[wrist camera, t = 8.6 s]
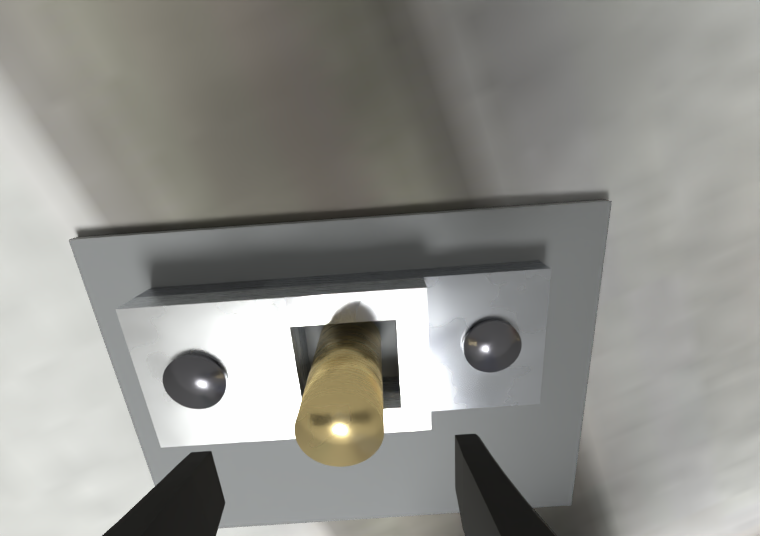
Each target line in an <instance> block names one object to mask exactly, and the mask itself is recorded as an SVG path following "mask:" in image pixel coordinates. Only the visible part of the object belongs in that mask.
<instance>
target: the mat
mask: <svg viewBox="0 0 760 536" xmlns="http://www.w3.org/2000/svg"><path fill="white" fill-rule="evenodd" d="M611 202H612V201H609V200H591V201H577V202H563V203H549V204H535V205H521V206H507V207H493V208H479V209H465V210H451V211H437V212H423V213H409V214H395V215H381V216H367V217H353V218H339V219H325V220H311V221H297V222H283V223H269V224H255V225H241V226H227V227H213V228H199V229H185V230H171V231H157V232H143V233H129V234H115V235H101V236H87V237H76V238H73V239H70V240H69V243H70V245H71V248H72V251H73V254H74V257H75V260H76V263H77V265H78V268H79V271H80V274H81V277H82V280H83V282H84V285H85V288H86V291H87V294H88V297H89V300H90V302H91V305H92V308H93V311H94V314H95V317H96V320H97V322H98V325H99V328H100V331H101V334H102V337H103V339H104V342H105V345H106V348H107V351H108V354H109V357H110V359H111V362H112V365H113V368H114V371H115V374H116V376H117V379H118V382H119V385H120V388H121V391H122V394H123V396H124V399H125V402H126V405H127V408H128V411H129V414H130V416H131V419H132V422H133V425H134V428H135V431H136V433H137V436H138V439H139V442H140V445H141V448H142V451H143V453H144V456H145V459H146V462H147V465H148V468H149V471H150V473H151V476H152V479H153V482H154V485H155V486H156V485H157V484H158V483H159V482H160V481H161V480H162V479H163V478H164V477H165V476H166V475H167V474H168V473H169V472H171V471H172V470H173V469H174V468H175V467H176V466H177V465H178V464H179V463H180V462H181V461H182V460H183V459H184V458H185V457H186V456H187V455H189V454H190V453H191V452H203V451H212V455H213V459H214V462H215V466H216V470H217V473H218V477H219V481H220V484H221V488H222V492H223V496H224V499H225V506H224V510H223V513H222V517H221V520H220V524H219V527H218V528H230V527H245V526H261V525H276V524H291V523H307V522H322V521H338V520H353V519H368V518H384V517H399V516H414V515H430V514H445V513H460V511H459V506H458V500H457V495H456V490H455V435H461V434H477V435H478V436H479V437H480V439H481V440H482V442H483V443H484V445H485V446H486V448H487V449H488V451H489V452H490V453H491V455H492V456H493V458H494V459H495V461H496V462H497V463H498V465H499V466H500V467H501V469H502V470H503V471H504V473H505V474H506V475H507V477H508V478H509V479H510V481H511V482H512V483H513V484H514V486H515V487H516V488H517V489H518V491H519V492H520V493H521V494H522V496H523V497H524V498H525V499H526V501H527V502H528V503H529V504H530V505H531V507H532V508H538V507H553V506H568V505H571V504H572V497H573V489H574V482H575V474H576V467H577V459H578V452H579V444H580V436H581V429H582V421H583V414H584V406H585V399H586V391H587V384H588V376H589V369H590V361H591V353H592V346H593V338H594V331H595V323H596V316H597V308H598V301H599V293H600V285H601V278H602V270H603V263H604V255H605V248H606V240H607V233H608V225H609V218H610V210H611ZM536 260H539V261H541V262H542V263H544V264H545V265H547V266H548V267H550V268H551V279H550V290H549V302H548V314H547V326H546V337H545V349H544V361H543V373H542V384H541V396H540V404H531V405H516V406H501V407H486V408H471V409H456V410H441V411H431V430H417V431H402V432H387V433H384V438H383V441H382V444H381V446H380V447H379V449H378V450H377V451H376V453H375V454H374V455H372V456H371V457H370V458H368V459H367V460H365V461H363V462H361V463H359V464H356V465H352V466H345V467H336V466H329V465H325V464H322V463H319V462H317V461H315V460H313V459H311V458H310V457H309V456H307V455H306V454H305V453H304V452H303V451H302V450H301V448H300V447H299V445H298V443H297V441H296V439H282V440H267V441H253V442H238V443H223V444H208V445H193V446H178V447H163V448H161V446H160V443H159V440H158V437H157V434H156V431H155V428H154V425H153V422H152V419H151V416H150V413H149V410H148V407H147V404H146V401H145V398H144V395H143V392H142V389H141V386H140V383H139V380H138V377H137V374H136V371H135V367H134V364H133V361H132V358H131V355H130V352H129V349H128V346H127V343H126V340H125V337H124V334H123V331H122V328H121V325H120V322H119V319H118V316H117V313H116V310H115V309H117V308H119V307H120V306H122V305H123V304H125V303H127V302H128V301H130V300H132V299H133V298H135V297H136V296H138V295H140V294H141V293H143V292H145V291H146V290H148V289H149V288H152V287H166V286H181V285H195V284H209V283H223V282H238V281H252V280H266V279H280V278H294V277H309V276H323V275H337V274H351V273H366V272H380V271H394V270H408V269H422V268H437V267H451V266H465V265H479V264H494V263H508V262H522V261H536ZM372 322H373V323H374V324H375V325H376V326H377V328H378V330H379V332H380V336H381V356H382V377H391V376H398V364H397V348H396V331H395V320H380V321H372ZM324 325H325V324H323V325H308V326H304V328H305V335H306V341H307V348H308V355H309V361H310V368H311V365H312V362H313V358H314V355H315V351H316V348H317V344H318V341H319V337H320V334H321V331H322V329H323V327H324Z"/></svg>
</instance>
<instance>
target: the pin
mask: <svg viewBox="0 0 760 536" xmlns="http://www.w3.org/2000/svg"><path fill="white" fill-rule="evenodd" d="M294 434H295V438H296V441H297V443H298V445H299V447H300V448H301V450H302V451H303V452H304V453H305V454H306V455H307V456H309V457H310V458H311V459H313V460H315V461H317V462H319V463H322V464H325V465H329V466H336V467H345V466H352V465H356V464H359V463H361V462H363V461H365V460H367V459H368V458H370V457H371V456H372V455H374V454H375V453H376V451H377V450H378V449H379V447H380V446H381V444H382V441H383V438H384V408H383V382H382V356H381V336H380V332H379V330H378V328H377V326H376V325H375V324H374V323H373V322H372V321H366V322H351V323H337V324H325V325H324V327H323V329H322V331H321V334H320V337H319V341H318V344H317V348H316V351H315V355H314V358H313V362H312V365H311V369H310V372H309V376H308V379H307V383H306V386H305V390H304V393H303V397H302V400H301V403H300V407H299V410H298V414H297V417H296V421H295V425H294Z"/></svg>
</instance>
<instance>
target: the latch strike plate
mask: <svg viewBox="0 0 760 536" xmlns="http://www.w3.org/2000/svg"><path fill="white" fill-rule="evenodd" d="M550 279H551V268H550V267H548V266H547V265H545V264H544V263H542V262H541V261H539V260H536V261H522V262H508V263H494V264H479V265H465V266H451V267H437V268H422V269H408V270H394V271H380V272H366V273H351V274H337V275H323V276H309V277H294V278H280V279H266V280H252V281H238V282H223V283H209V284H195V285H181V286H166V287H152V288H149V289H148V290H146V291H145V292H143V293H141V294H140V295H138V296H136V297H135V298H133V299H132V300H130V301H128V302H127V303H125V304H123V305H122V306H120V307H119V308H117V309H115V310H116V313H117V316H118V319H119V322H120V325H121V328H122V331H123V334H124V337H125V340H126V343H127V346H128V349H129V352H130V355H131V358H132V361H133V364H134V367H135V371H136V374H137V377H138V380H139V383H140V386H141V389H142V392H143V395H144V398H145V401H146V404H147V407H148V410H149V413H150V416H151V419H152V422H153V425H154V428H155V431H156V434H157V437H158V440H159V443H160V446H161V448H163V447H178V446H193V445H208V444H223V443H238V442H253V441H267V440H282V439H296V438H295V434H294V425H295V421H296V417H297V414H298V410H299V407H300V403H301V400H302V397H303V393H304V390H305V386H306V383H307V379H308V376H309V372H310V369H311V368H310V361H309V355H308V348H307V341H306V335H305V328H304V326H308V325H323V324H337V323H351V322H366V321H380V320H395V331H396V348H397V364H398V376H391V377H382V382H383V408H384V433H387V432H402V431H417V430H431V411H441V410H456V409H471V408H486V407H501V406H516V405H531V404H540V396H541V384H542V373H543V361H544V349H545V337H546V326H547V314H548V302H549V290H550Z"/></svg>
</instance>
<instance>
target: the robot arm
mask: <svg viewBox="0 0 760 536" xmlns="http://www.w3.org/2000/svg"><path fill="white" fill-rule="evenodd" d="M455 490H456V495H457V500H458V506H459V511H460V516H461V521H462V526H463V530H464V533H465V536H557V535H556V534H555V533H554V532H553V531H552V530H551V529H550V527H549V526H548V525H547V524H546V523H545V522H544V521H543V520H542V518H541V517H540V516H539V515H538V514H537V513H536V511H535V510H534V509H533V508H532V507H531V505H530V504H529V503H528V502H527V501H526V499H525V498H524V497H523V496H522V494H521V493H520V492H519V491H518V489H517V488H516V487H515V486H514V484H513V483H512V482H511V481H510V479H509V478H508V477H507V475H506V474H505V473H504V471H503V470H502V469H501V467H500V466H499V465H498V463H497V462H496V461H495V459H494V458H493V456H492V455H491V453H490V452H489V451H488V449H487V448H486V446H485V445H484V443H483V442H482V440H481V439H480V437H479V436H478V435H477V434H461V435H455ZM224 506H225V499H224V496H223V492H222V488H221V484H220V481H219V477H218V473H217V470H216V466H215V462H214V459H213V455H212V451H203V452H191V453H190V454H189V455H187V456H186V457H185V458H184V459H183V460H182V461H181V462H180V463H179V464H178V465H177V466H176V467H175V468H174V469H173V470H172V471H171V472H169V473H168V474H167V475H166V476H165V477H164V478H163V479H162V480H161V481H160V482H159V483H158V484H157V485H156V486H155V487H154V488H153V489H152V490H151V491H150V492H149V493H148V494H147V495H146V496H145V497H143V498H142V499H141V500H140V501H139V502H138V503H137V504H136V505H135V506H134V507H133V508H132V509H131V510H130V511H129V512H128V513H127V514H126V515H124V516H123V517H122V518H121V519H120V520H119V521H118V522H117V523H116V524H115V525H114V526H112V527H111V528H110V529H109V530H108V531H107V532H106V533H105V534H104V535H102V536H216V533H217V530H218V527H219V524H220V520H221V517H222V513H223V510H224Z"/></svg>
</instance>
